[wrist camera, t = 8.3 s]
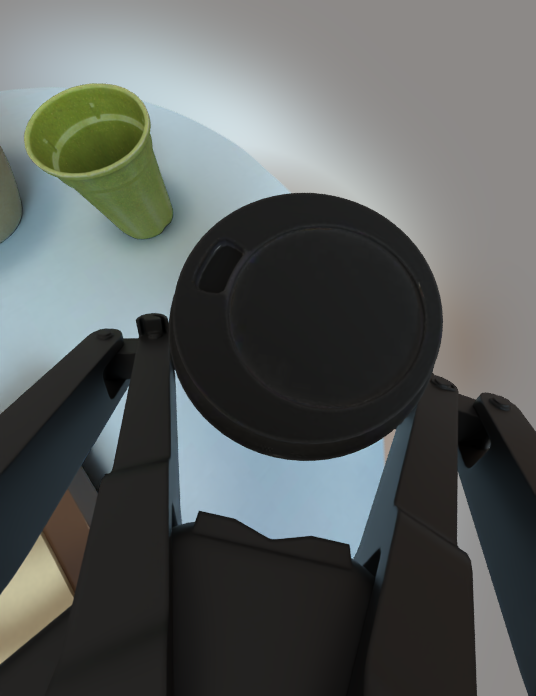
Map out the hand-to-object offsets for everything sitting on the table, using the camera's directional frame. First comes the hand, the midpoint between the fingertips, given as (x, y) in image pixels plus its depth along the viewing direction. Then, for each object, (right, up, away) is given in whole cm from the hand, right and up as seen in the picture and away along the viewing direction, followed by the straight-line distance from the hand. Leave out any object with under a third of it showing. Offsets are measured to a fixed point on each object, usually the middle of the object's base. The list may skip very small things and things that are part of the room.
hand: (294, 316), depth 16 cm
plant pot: (-15, +12, +10) cm, 22 cm away
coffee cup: (0, -4, +5) cm, 7 cm away
